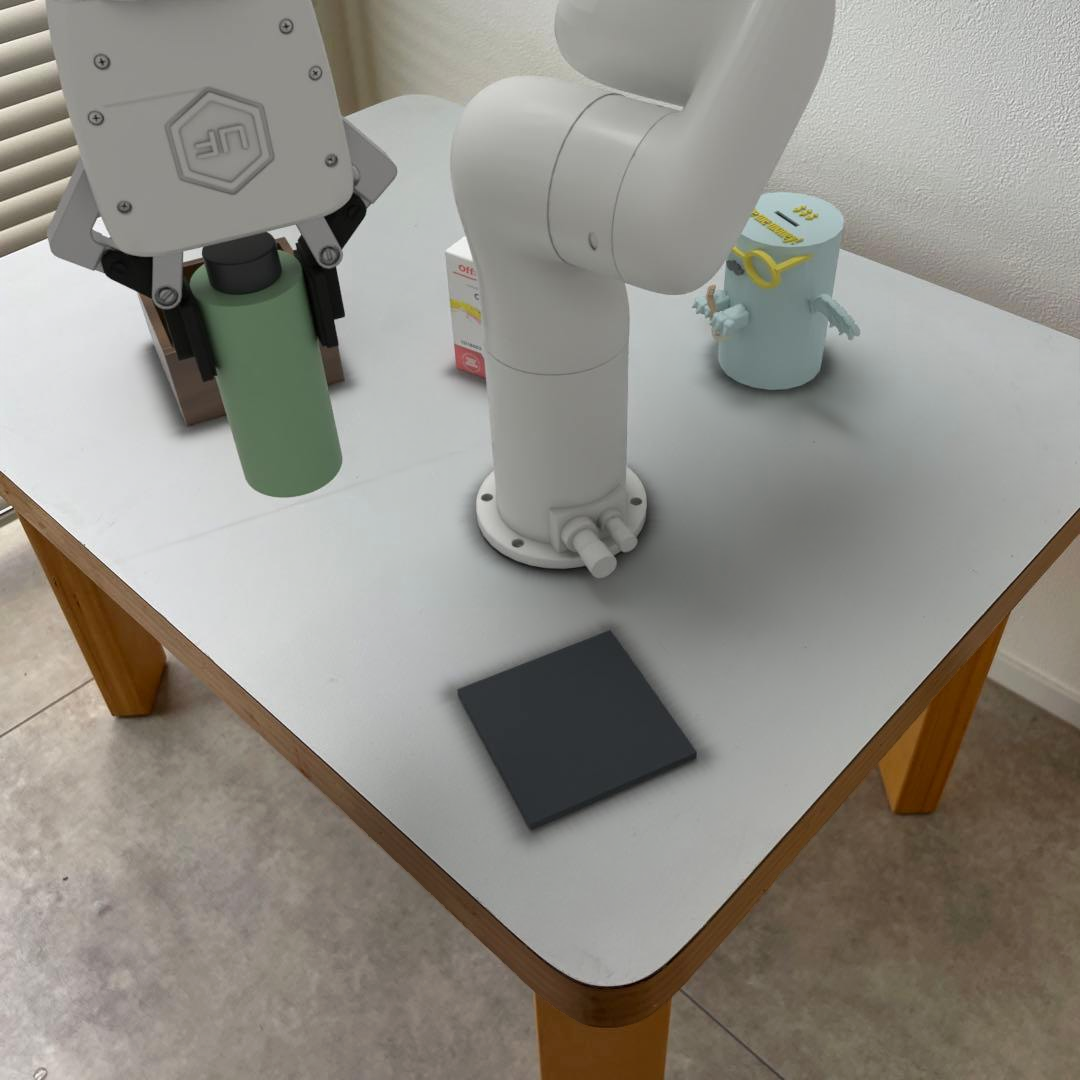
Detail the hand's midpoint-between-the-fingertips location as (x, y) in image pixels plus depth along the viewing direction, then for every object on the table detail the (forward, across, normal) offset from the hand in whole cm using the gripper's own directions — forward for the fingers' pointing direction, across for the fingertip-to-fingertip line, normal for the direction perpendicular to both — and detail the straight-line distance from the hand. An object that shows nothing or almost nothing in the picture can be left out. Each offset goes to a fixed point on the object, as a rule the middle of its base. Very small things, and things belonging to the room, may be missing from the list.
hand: (263, 345), depth 53 cm
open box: (+27, +2, +40) cm, 49 cm away
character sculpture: (+28, +42, +21) cm, 55 cm away
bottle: (+7, 0, 0) cm, 7 cm away
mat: (+27, +12, -7) cm, 31 cm away
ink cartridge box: (+28, +23, +29) cm, 46 cm away
